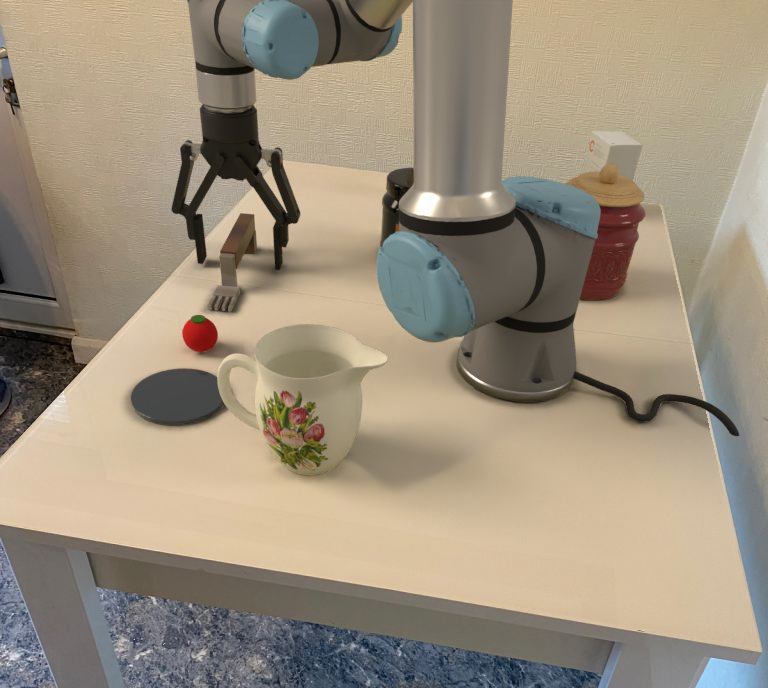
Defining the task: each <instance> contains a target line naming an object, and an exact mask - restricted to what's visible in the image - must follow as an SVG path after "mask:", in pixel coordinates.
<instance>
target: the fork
mask: <svg viewBox="0 0 768 688" xmlns="http://www.w3.org/2000/svg"><path fill="white" fill-rule="evenodd" d="M255 219H256V218H255V214H254V213H243V212H240V213H239V215H238V216H237V218H236V221H235V222H234V224H233V226H232V228H231V230H230V232H229V233H228V235H227V237H226V239H225V240H224V243H223V245H222V246H221V249H220V251H219V252H220V253H219V257H218V258H219V259H218V260H219V268H220V278H221V279H220V281H221V285H220V284H218V285H217V286H216V288H215V290H214V292H213V294H212V296H211V299H210V301H209V303H208V305H207V309H208V311H212V310H213V308H214V311H216V312H217V311H219V310H220V307H221V311H222V312H225V311H226V310H227V311H228V312H233V309H234V308H235V304H236V303H237V300H238V298H239V296H240V294H241V287H240V286H238V273H237V269H238V267H239V266H240V263H241V261H242V259H243V257H244V255H245V254H251V255H252V254H253V255H255V254H256V252H257V250H258V241H257V240H258V239H257V230H256V220H255Z"/></svg>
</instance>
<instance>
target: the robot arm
mask: <svg viewBox="0 0 768 688" xmlns="http://www.w3.org/2000/svg"><path fill="white" fill-rule="evenodd" d="M186 2H187V5H188V13H189V21H190V22H189V23H190V32H191V39H192V40H191V41H192V48H193V56H194V64H195V65H194V66H195V75H196V86H197V99H198V102H199V103H200V104H201V106H200V108H199V117H200V125H201V135H202V142H201V143H194V142H192V141H191V140H190V139H186V140H185V141H184V143H182V145H181V146H180V148H179V151H180V160H181V164H180V170H179V173H178V177H177V181H176V187H175V191H174V195H173V200H172V203H171V204H172V205H171V207H170V208H171V212H172V213H173V214H174V215H180V216H182V217H184V219H185V223H186V231H187V237H188V239H189V240H191V241H194V246H195V252H196V261H197V264H198V265H203V264H204V262H205V261H206V259H207V256H208V255H207V254H208V253H207V246H206V245H207V243H206V236H205V235H206V234H205V227H204V219H203V213H197V211H198V209H199V208H200V206H201V204H202V203H203V201H204V200H205V198H206V196H207V194H208V192H209V191H210V189H211V187H212V186H213V184H214V182H215V180H216V178H217V177H220V179H221V180H230V179H231V180H236V181H238V182H239V181H240V182H244V180H246V181H247V183H248V184H249V186H250V187H252V188H253V190H254V191H255V193H256V194H257V195H258V197H259V198H260V200H261V201H262V203H263V204H264V206H265V207H266V209H267V210H268V212H269V214H270V215H271V216H272V218H273V219H274V221H275V222H274V223H273V226H272V236H273V238H272V239H273V257H274V271H281V269H282V266H283V263H284V259H283V248H287V246H288V243H289V241H290V235H289V233H290V232H289V230H290V229H289V225H291V224H293V225H295V224H297V223H298V222H299V220H300V217H301V215H302V213H301V210H300V207H299V205H298V202H297V199H296V197H295V193H294V191H293V188H292V186H291V183H290V180H289V177H288V175H287V172H286V169H285V166H284V157H283V156H284V154H283V153H284V152H283V149H282V148H280V147H279V146H277V147H274V149H269V148H262V146H261V143H260V140H259V124H258V123H259V122H258V120H259V119H258V109H257V108H256V107H255V104H256V103H257V87H256V85H257V84H256V70H257V71H258V72H260V73H262V74H263V75H267V76H269V77H270V78H274V79H278V78H279V79H282V80H288V81H292V80H297V79H300V78H301V77H302V76H304V75H305V74H306V73H307V71H309V70H311V68H314V67H321V66H322V67H323V66H327V65H335V64H344V63H351V62H352V63H353V62H370V61H373V60H375V59H377V58H381V57H382V58H383V57H386V56H388V55H389V54H391V53H392V52H394V50H395V49H396V48H397V46H398V44H399V37H400V35H401V34H402V30H403V15H404V14H405V12H406V11H407V10H408V8H409V7H410V6H411V5H412V84H413V85H412V86H413V87H412V89H413V90H412V93H413V95H412V97H413V98H412V99H413V100H412V101H413V102H412V103H413V104H412V109H413V116H412V117H413V119H412V120H413V168H414V183H413V185H412V187H411V188H410V189H409V190H408V191H407V192H406V193H405V195H404V196H403V197H402V198H401V199H400V201H399V231H398V232H395V233H394V234H391V235H390V236H389V237H388V238H387V239H386V240H385V241H384V243H383V246H382V247H381V248H380V247H379V249H378V252H377V254H376V255H377V256H376V261H375V262H376V263H375V269H376V270H375V272H376V276H377V277H376V278H377V284H378V288H379V292H380V294H381V297H382V299H383V301H384V304H385V305H386V308H387V309H388V311H389V312H390V313H391V314H392V316H393V318H394V319H395V321H396V322H397V324H399V326H400V327H402V329H404V331H406V333H408V334H410V335H411V336H412V337H414V338H416V339H418V340H420V341H423V342H427V343H441V342H445V341H448V340H450V339H453V338H462V337H463V338H462V340H461V342H460V344H459V347H458V351H457V357H456V369H457V371H458V373H459V375H460V377H462V379H463V380H464V381H465V382H466V383H467V384H468V385H469V386H471V387H473V388H474V389H476V390H477V391H479V392H481V393H483V394H486V395H488V396H491V397H494V398H497V399H500V400H504V401H509V402H518V403H537V402H538V403H539V402H544V401H549V400H553V399H555V398H559V397H560V396H563V395H564V394H565V393H566V392H568V391H569V390H570V388H571V387H572V386H573V383H574V380H576V381H578V382H581V383H583V384H586V385H588V386H591V387H593V388H595V389H597V390H601V392H605V393H608V394H611V395H614V396H615V397H617V398H619V399H620V400H622V401H623V403H624V404H625V407H626V413H627V415H628V417H629V418H630V419H631V420H633V421H636V422H640V423H647V422H651V421H652V420H654V419H655V418H656V416H657V415H658V413H659V410H660V407H661V404H663V403H665V402H672V403H682V404H687V405H692V406H695V407H698V408H700V409H703V410H705V411H707V412H708V413H710V414H711V415H712V416H714V417H715V419H717V420H718V421H719V422H721V424H722V425H723V426H724V427H725V428H726V429H727V431H728V433H729V434H730V435H731V436H734V437H740V432H739V429H738V428H737V426H736V425H735V423H734V422H733V421H732V419H731V418H730V417H729V416H728V415H727V414H726V413H725V412H723V410H722V409H720V408H718V406H716V405H714V404H712V403H710V402H708V401H705V400H704V399H701V398H698V397H694V396H689V395H685V394H676V393H675V394H674V393H663V394H659V395H658V396H657V397H655V399H654V400H653V402H652V403H651V406H650V408H649V411H648V412H647V413H645V414H644V413H639V412H637V411H636V409H635V403H634V400H633V398H632V396H630V394H628V392H626V391H624V390H623V389H620V388H619V387H616V386H614V385H611V384H608V383H606V382H603V381H600V380H597V379H595V378H592V377H590V376H589V375H586V374H584V373H580V372H579V371H577V363H578V362H577V361H578V360H577V349H576V339H575V338H576V337H575V330H574V329H575V328H574V322H575V319H576V315H577V310H578V307H579V303H580V300H581V299H580V296H581V292H582V288H583V284H584V281H585V277H586V273H587V269H588V266H589V262H590V258H591V255H592V251H593V247H594V243H595V240H596V239H597V237H598V234H597V230H598V225H599V220H600V214H601V210H600V206H599V204H598V203H597V201H596V200H595V198H593V197H592V196H591V195H590V194H588V193H586V192H584V191H582V190H580V189H578V188H575V187H573V186H570V185H567V184H566V183H563V182H560V181H558V180H557V181H556V180H553V179H547V178H542V177H541V178H540V177H534V176H527V175H525V176H524V175H523V176H520V175H519V176H509V177H506V178H503V165H504V164H503V163H504V162H503V161H504V147H505V130H506V118H507V117H506V116H507V114H506V113H507V101H508V99H507V98H508V86H509V85H508V83H509V66H510V52H511V35H512V34H511V33H512V21H513V20H512V19H513V5H514V4H513V3H514V0H186ZM199 155H201V156H202V158H203V159H204V160H205V162H206V163H207V164H208V165H209V166H210V167H209V168H208V170H207V172H206V174H205V176H204V178H203V180H202V181H201V183H200V185H199V187H198V189H197V190H196V192H195V194H194V196H193V197H192V199H191V201H190V203H189V204H187V203H186V199H187V194H188V190H189V186H190V181H191V178H192V174H193V169H194V165H195V162H196V161H197V160H198V158H199ZM261 160H264V161H265V163H266V165H267V166H268V168H271V173H272V177H273V179H274V182H275V185H276V187H277V190H278V193H279V195H280V197H281V200H282V203H283V205H282V204H281V202H280V200H279V199H278V197H277V196H276V194H275V193H274V191H273V189H272V188H271V187H270V185H269V184H268V182H267V180H266V179H265V178H264V176H263V173H262V171H261V169H260V168H259V166H258V165H259V163H260V162H261ZM502 178H503V180H502ZM283 206H284V207H283Z"/></svg>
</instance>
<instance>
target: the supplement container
mask: <svg viewBox="0 0 768 688" xmlns="http://www.w3.org/2000/svg"><path fill="white" fill-rule="evenodd" d="M413 183H414V167H401V168H397V169H394V170H392V171H390V172H389V173H388V174H387V175H386V185H385V188H386V192H385V193H384V194H383V196H382V199H381V204H382V213H381V230H380V241H379V249H380V248H381V247H382V246H383V243H384V241H385V240H386V239H387V238H388V237H389V236H390V235H391V234H394V233H395V232H398V231H399V201H400V199H401V198H402V197H403V196H404V195H405V193H406V192H407V191H408V190H409V189H410V188H411V187H412V185H413Z"/></svg>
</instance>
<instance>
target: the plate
mask: <svg viewBox="0 0 768 688" xmlns="http://www.w3.org/2000/svg"><path fill="white" fill-rule="evenodd" d="M130 405H131V407H132V409H133V411H134V412H135V413H136V414H137V415H138V416H139V417H140V418H142V419H143V420H146V421H148V422H150V423H153V424H157V425H164V426H185V425H191V424H195V423H199V422H202V421H204V420H206V419H209V418H211V417H213V416H214V415H216V414H217V413H218V412H219V411H220V410H222V408H224V405H225V404H224V402H223V400H222V398H221V396H220V393H219V388H218V381H217V376H216V375H215V374H213V373H211V372H209V371H205V370H201V369H196V368H171V369H166V370H162V371H158V372H155V373H153V374H150V375H148V376H146V377H145V378H143V379H142V380H140V381H139V382H138V383H137V384H136V385H135V386H134V388H133V389H132V391H131V394H130Z"/></svg>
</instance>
